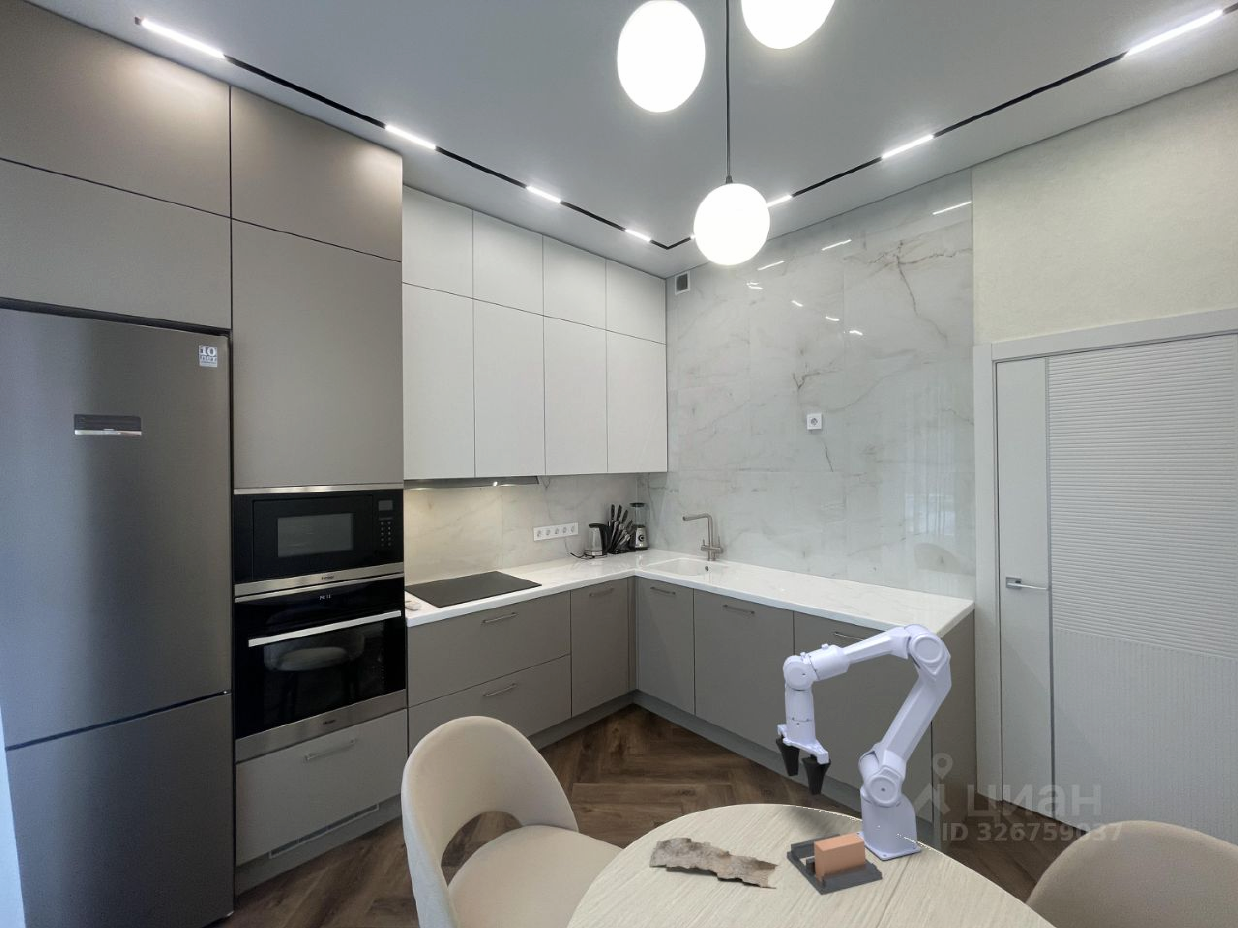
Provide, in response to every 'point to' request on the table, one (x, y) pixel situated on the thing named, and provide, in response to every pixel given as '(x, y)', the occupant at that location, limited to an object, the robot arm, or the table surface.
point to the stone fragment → (711, 860)
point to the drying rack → (835, 879)
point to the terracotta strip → (838, 854)
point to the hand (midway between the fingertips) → (803, 783)
